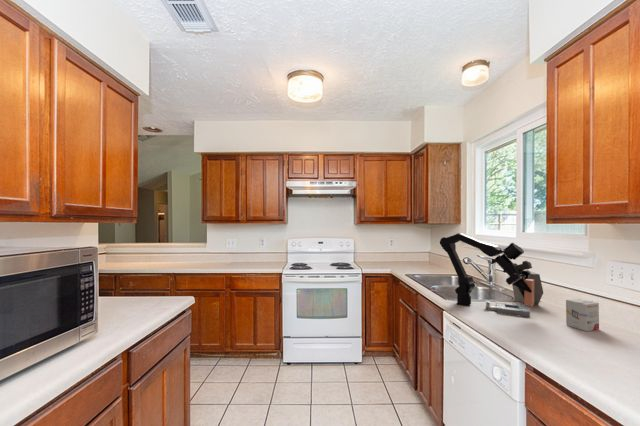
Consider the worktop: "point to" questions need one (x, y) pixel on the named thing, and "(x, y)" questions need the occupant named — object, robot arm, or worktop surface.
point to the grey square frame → (512, 309)
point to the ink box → (582, 314)
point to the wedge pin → (527, 295)
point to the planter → (537, 286)
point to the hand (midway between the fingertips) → (532, 291)
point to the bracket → (490, 306)
